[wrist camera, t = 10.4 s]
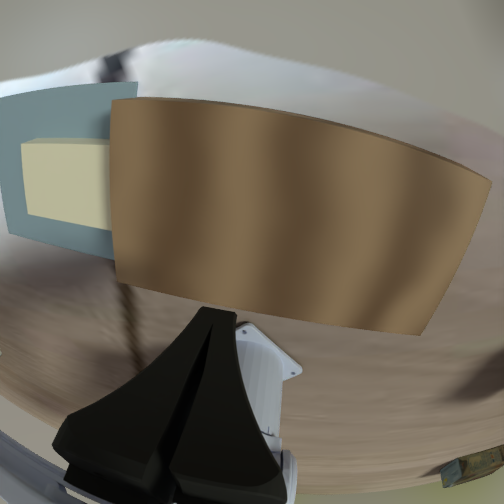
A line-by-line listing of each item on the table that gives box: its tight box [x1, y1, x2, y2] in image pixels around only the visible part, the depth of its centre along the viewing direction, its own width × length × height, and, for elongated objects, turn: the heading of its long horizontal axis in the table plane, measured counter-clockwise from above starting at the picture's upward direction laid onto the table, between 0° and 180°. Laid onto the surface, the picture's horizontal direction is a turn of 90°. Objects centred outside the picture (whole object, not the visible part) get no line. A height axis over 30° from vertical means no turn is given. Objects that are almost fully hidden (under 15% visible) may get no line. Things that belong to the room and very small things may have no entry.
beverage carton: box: [440, 445, 504, 488], centre depth 40 cm, size 8×19×7 cm, turn 83°
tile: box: [21, 138, 112, 231], centre depth 19 cm, size 9×6×2 cm, turn 81°
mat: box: [0, 82, 138, 260], centre depth 20 cm, size 16×14×1 cm
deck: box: [109, 97, 492, 336], centre depth 18 cm, size 22×12×4 cm, turn 81°
